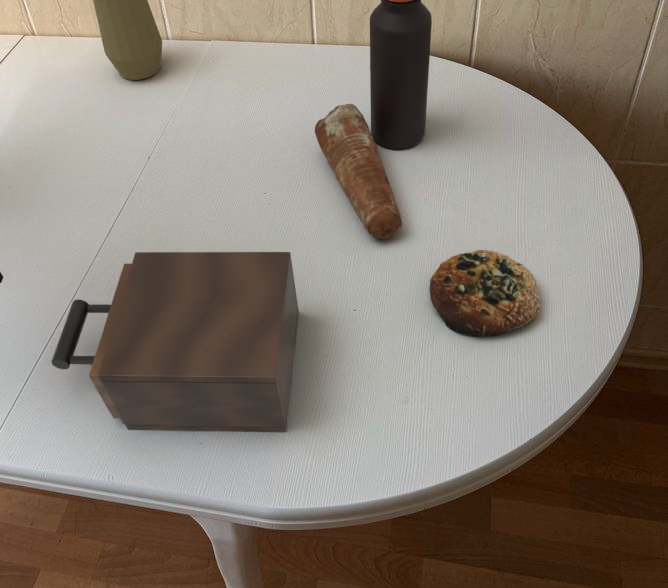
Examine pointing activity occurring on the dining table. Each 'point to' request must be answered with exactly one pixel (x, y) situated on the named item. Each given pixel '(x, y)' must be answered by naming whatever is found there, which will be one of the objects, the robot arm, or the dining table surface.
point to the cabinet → (204, 342)
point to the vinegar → (399, 72)
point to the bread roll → (484, 293)
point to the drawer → (73, 331)
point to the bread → (359, 169)
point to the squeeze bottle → (130, 37)
